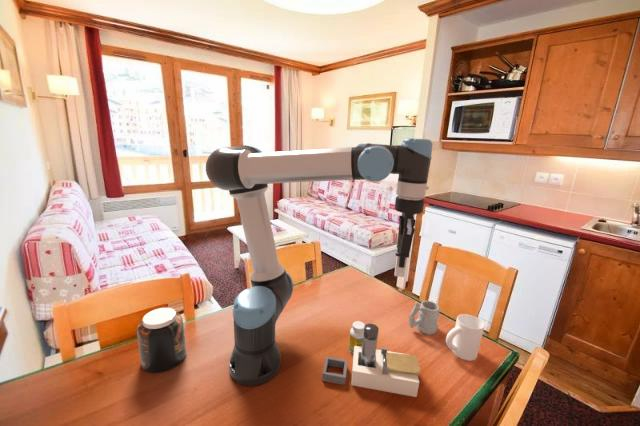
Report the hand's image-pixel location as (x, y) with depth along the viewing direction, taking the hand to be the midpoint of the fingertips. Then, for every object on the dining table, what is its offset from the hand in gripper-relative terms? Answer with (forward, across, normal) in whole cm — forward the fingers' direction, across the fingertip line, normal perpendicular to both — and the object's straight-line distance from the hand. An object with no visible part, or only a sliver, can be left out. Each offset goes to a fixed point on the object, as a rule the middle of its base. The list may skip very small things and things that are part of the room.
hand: (399, 275), depth 83 cm
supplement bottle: (+30, +1, +10) cm, 31 cm away
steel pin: (+29, -8, +7) cm, 31 cm away
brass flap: (+24, -8, -3) cm, 25 cm away
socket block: (+29, -8, +2) cm, 31 cm away
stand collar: (+29, -10, +16) cm, 35 cm away
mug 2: (+30, +8, -24) cm, 39 cm away
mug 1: (+30, +18, -13) cm, 37 cm away
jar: (+30, -16, +68) cm, 76 cm away
